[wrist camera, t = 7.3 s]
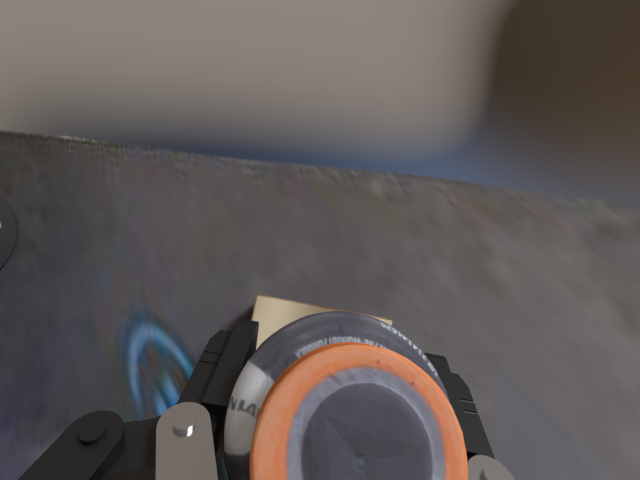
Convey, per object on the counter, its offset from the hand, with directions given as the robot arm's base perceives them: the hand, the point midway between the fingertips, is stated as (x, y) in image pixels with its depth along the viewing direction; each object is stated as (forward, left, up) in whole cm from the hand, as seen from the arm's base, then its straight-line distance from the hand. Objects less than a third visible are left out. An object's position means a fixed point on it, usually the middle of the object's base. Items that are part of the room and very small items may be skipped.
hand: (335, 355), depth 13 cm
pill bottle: (0, -2, -5) cm, 5 cm away
